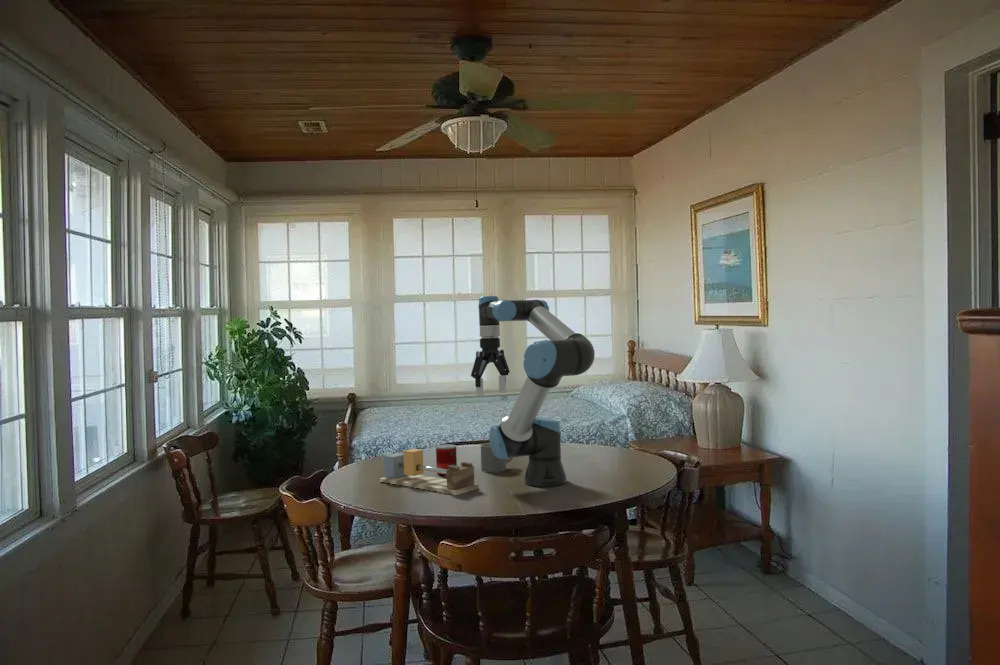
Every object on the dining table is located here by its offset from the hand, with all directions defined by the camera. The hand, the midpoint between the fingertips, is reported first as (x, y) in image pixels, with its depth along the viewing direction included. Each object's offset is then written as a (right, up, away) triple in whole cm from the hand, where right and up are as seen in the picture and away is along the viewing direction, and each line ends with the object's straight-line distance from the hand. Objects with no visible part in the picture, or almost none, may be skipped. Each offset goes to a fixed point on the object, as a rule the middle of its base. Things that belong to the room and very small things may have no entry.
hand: (491, 394), depth 264 cm
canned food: (-17, -32, +11) cm, 38 cm away
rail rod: (-23, -28, -7) cm, 38 cm away
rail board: (-23, -32, -7) cm, 40 cm away
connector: (-36, -31, +3) cm, 48 cm away
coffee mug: (+2, -32, +17) cm, 36 cm away
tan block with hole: (-29, -29, -3) cm, 41 cm away
